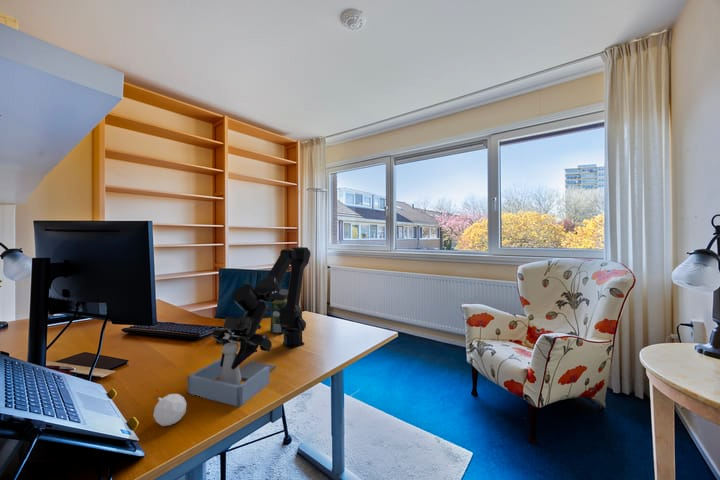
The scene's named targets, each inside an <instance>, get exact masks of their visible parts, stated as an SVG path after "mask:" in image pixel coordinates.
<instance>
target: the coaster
mask: <svg viewBox="0 0 720 480" xmlns="http://www.w3.org/2000/svg"><path fill="white" fill-rule="evenodd" d="M266 366H268V367H269V373H271V372H272V371H273V370H275V369H276V368H277V366H276V365H273V364H268V363H263V362H258V361H252V360H251V361H250V362H248V363H246V364H245V365H243V366H242V367H239V368H240V374H241V380H243V381H246V380H248V379H249V378H251V377H252V376H253V375H255V374H256V373H258V372H259V371H261V370H262V369H263V368H265V367H266Z"/></svg>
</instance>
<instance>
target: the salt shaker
mask: <svg viewBox="0 0 720 480" xmlns="http://www.w3.org/2000/svg"><path fill="white" fill-rule="evenodd" d="M221 349H222V352H223V354H225V356H224V362H223V367H222V372H221V376H220V377H219V378H220V379H219V381H221V382H226V383H230V384H235V385H241V384H240V383H241V381H242V379H241V374H240V368H241V367H240V365H238V366H237V367H236V368H235V369H234V370H233V369H231V367H232V364H233V362H234V360H235V358H236V356H237V354H238V352H239V344H238V342H231V343H227V344H225V345H224V346H223V345H222V348H221Z"/></svg>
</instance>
